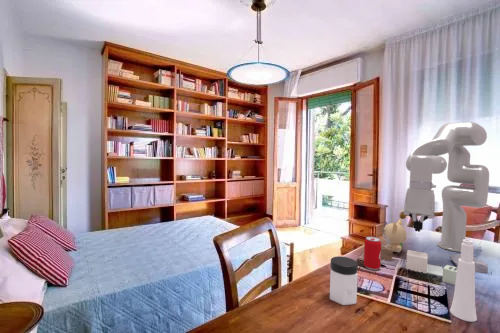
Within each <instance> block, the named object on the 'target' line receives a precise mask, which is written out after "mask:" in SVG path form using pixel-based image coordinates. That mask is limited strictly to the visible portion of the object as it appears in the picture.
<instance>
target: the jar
mask: <svg viewBox="0 0 500 333" xmlns="http://www.w3.org/2000/svg"><path fill="white" fill-rule="evenodd" d="M358 270H359V264H358V262H357V261H356V260H355V259H353V258H351V257H346V256H339V255H338V256H334V257H332V258H330V275H329V277H330V278H329V281H330V282H329V300H330V301H333V302H335V303H337V304H340V305H341V306H349V305H356V304H357V296H358V295H357V294H358Z"/></svg>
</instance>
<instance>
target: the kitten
mask: <svg viewBox="0 0 500 333" xmlns="http://www.w3.org/2000/svg"><path fill="white" fill-rule="evenodd" d="M382 237H383V239H384V240H385V242H387V244H386V245H385V246H392V249H393V252H394V253H400V252H401V251H402V249H403V243H405V242H406V240H407V231H406V229H405V227H404V226H403V221H402V219H401V218H399V219H398V221H397V222H389V223H388V224H386V225H385V226H384V228H383V230H382Z"/></svg>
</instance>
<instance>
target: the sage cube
mask: <svg viewBox="0 0 500 333" xmlns="http://www.w3.org/2000/svg"><path fill="white" fill-rule="evenodd" d="M456 275H457V266H453V265H449V264H446V265H445V266H444V267H442V282H444V283H447V284H448V285H449V284H450V285H454V286H455V283H456Z"/></svg>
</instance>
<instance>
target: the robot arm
mask: <svg viewBox="0 0 500 333" xmlns="http://www.w3.org/2000/svg"><path fill="white" fill-rule="evenodd" d="M487 135H488V134H487V131H486V129H485V127H483V126H482V125H480V124H479V123H476V122H474V121H462V122H450V123H449V122H448V123H445V124H443V125H441V126H440V128H439V129H438V131H437V132H436V133H435V135H434V136H433V138H432V139H431V140H429V141H428V140H427V141H426V142H425V143H422V144H419V145H418V146H416V147H415V148H414V149H413V150H412V151H411V152H410V153H409V155H408V156H407V158H406V162H405V167H406V169H407V171H409V187H408V188H407V189H406V193H405V196H404V197H405V199H404V207H403V215H404V216H407V217H410V218H411V220H412V221H413V226H412V227H413V229H414V231H415V232H421V231H422V230H423V226H424V225H423V224H424V221H426V220H429V219H430V220H432V219H433V220H434V219H435V211H436V210H435V208H436V207H435V204H436V201H435V199H436V198H435V191H434V189H433V188H437V184H435V183H432V182H433V181H432V180H433V175H435V174H437V175H439V174H442V173H444V172H445V171H446V170H447V172H446V175H447V178H446V179H447V180H448V181H449V182H451V183H455V184H462V185H446V186H444V187H443V188H442V190H441V200H442V219H441V220H442V221H441V222H442V223H441V236H440V241H438V242H437V243H436V244H437V245H436V246H438V247H439V248H441V249H444V250H446V251H449V252H450V251H451V252H456V253H461V243H463V240H466V234H467V220H468V219H467V218H468V216H467V213H466V211H465V209H464V208H463V207H469V208H470V207H471V208H477V209H479V208H480V209H481V208H484V207H486V206H487V203H488V197H489V196H488V194H489V185H490V184H489V183H490V171H489V169H488V167H487V166H486V165H482V164H471V153H470V152H469V150H468V149H467V148H466V146H468V147H469V146H473V147H474V146H482V145H483V144H485V143H486V141H487V138H488V136H487ZM446 154H448V162H447V159H445V158H444V157H443V156H442V155H446ZM463 184H464V185H465V184H466V185H474V186H473V187H472V186H466V185H465V186H464V185H463ZM417 215H420V217H419V220H418V216H417Z"/></svg>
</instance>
